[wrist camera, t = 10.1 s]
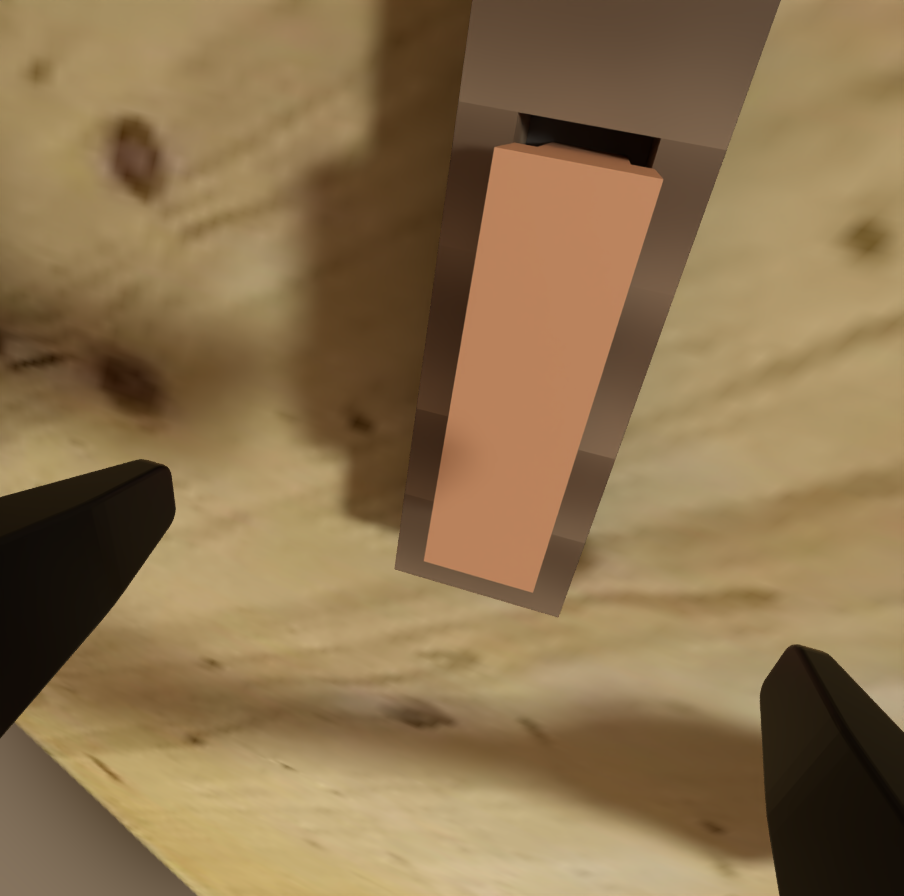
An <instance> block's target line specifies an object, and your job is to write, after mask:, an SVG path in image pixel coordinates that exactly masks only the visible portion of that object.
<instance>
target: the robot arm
mask: <svg viewBox="0 0 904 896" xmlns="http://www.w3.org/2000/svg"><path fill="white" fill-rule="evenodd" d="M175 510H176V507H175V499H174V491H173V483H172V475H171V472H170V470H169V468H168V467H167V466H165V465H163V464H159V463H156V462H152V461H149V460H144V459H139V460H135V461H131V462H127V463H124V464H120V465H116V466H113V467H109V468H105V469H102V470H98V471H94V472H91V473H87V474H83V475H80V476H76V477H72V478H69V479H65V480H61V481H58V482H54V483H50V484H47V485H43V486H39V487H36V488H32V489H28V490H25V491H21V492H17V493H14V494H10V495H6V496H3V497H0V738H1V737H2V736H3V735H4V734H5V732H6V731H7V730H8V729H9V728H10V727H11V725H12V724H13V723H14V722H15V721H16V720H17V719H18V717H19V716H20V715H21V714H22V713H23V712H24V710H25V709H26V708H27V707H28V706H29V705H30V703H31V702H32V701H33V700H34V699H35V698H36V696H37V695H38V694H39V693H40V692H41V691H42V689H43V688H44V687H45V686H46V685H47V684H48V682H49V681H50V680H51V679H52V678H53V677H54V675H55V674H56V673H57V672H58V671H59V670H60V668H61V667H62V666H63V665H64V664H65V663H66V661H67V660H68V659H69V658H70V657H71V656H72V654H73V653H74V652H75V651H76V650H77V649H78V647H79V646H80V645H81V644H82V643H83V642H84V641H85V639H86V638H87V637H88V636H89V635H90V634H91V632H92V631H93V630H94V629H95V628H96V627H97V625H98V624H99V623H100V622H101V621H102V620H103V618H104V617H105V616H106V615H107V613H108V612H109V611H110V610H111V609H112V607H113V606H114V605H115V603H116V602H117V601H118V599H119V598H120V597H121V595H122V594H123V593H124V591H125V590H126V588H127V587H128V586H129V584H130V583H131V581H132V580H133V578H134V577H135V575H136V574H137V573H138V571H139V570H140V568H141V567H142V565H143V564H144V563H145V561H146V560H147V558H148V557H149V555H150V554H151V553H152V551H153V550H154V548H155V547H156V545H157V544H158V543H159V541H160V540H161V538H162V537H163V535H164V534H165V533H166V531H167V530H168V528H169V527H170V525H171V524H172V521H173V519H174V516H175ZM760 713H761V731H762V749H763V767H764V785H765V801H766V812H767V821H768V828H769V835H770V842H771V848H772V854H773V860H774V866H775V872H776V878H777V884H778V890H779V896H904V732H903V731H902V730H901V729H900V728H899V727H898V726H897V725H896V724H895V723H894V722H893V721H892V720H891V718H890V717H889V716H888V715H887V714H886V713H885V712H884V711H883V710H882V709H881V708H880V707H879V706H878V705H877V704H876V703H875V702H874V701H873V700H872V699H871V698H870V697H869V695H868V694H867V693H866V692H865V691H864V690H863V689H862V688H861V687H860V686H859V685H858V684H857V683H856V682H855V681H854V680H853V679H852V678H851V677H850V676H849V675H848V673H847V672H846V671H845V670H844V669H843V668H842V667H841V666H840V665H839V664H838V663H837V662H836V661H835V660H834V659H833V658H832V657H831V656H830V655H829V654H827V653H825V652H823V651H820V650H816V649H813V648H809V647H806V646H802V645H798V644H796V645H791V646H789V647H788V648H787V649H786V650H785V651H784V653H783V654H782V656H781V657H780V659H779V660H778V662H777V663H776V664H775V666H774V667H773V669H772V670H771V672H770V673H769V675H768V676H767V678H766V679H765V681H764V683H763V685H762V688H761V692H760Z"/></svg>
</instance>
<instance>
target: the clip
mask: <svg viewBox="0 0 904 896" xmlns="http://www.w3.org/2000/svg"><path fill="white" fill-rule="evenodd" d="M662 183H663V178H662V177H661V176H660V175H659V173H658V172H657V171H656V170H655V169H652V168H646V167H641V166H636V165H631V164H630V161H629V158H628V156H625V155H619V154H614V153H609V152H603V151H598V150H593V149H587V148H582V147H577V146H571V145H566V144H560V143H555V142H551V143H548V144H545V145H542V146H539V147H535V146H530V145H525V144H519V143H511V144H506V145H501V146H497V147H494V152H493V158H492V164H491V170H490V176H489V182H488V188H487V193H486V199H485V205H484V211H483V217H482V223H481V229H480V234H479V240H478V246H477V252H476V258H475V264H474V270H473V275H472V281H471V287H470V293H469V299H468V305H467V311H466V316H465V322H464V328H463V334H462V340H461V346H460V352H459V357H458V363H457V369H456V375H455V381H454V387H453V393H452V398H451V404H450V410H449V416H448V422H447V428H446V434H445V439H444V445H443V451H442V457H441V463H440V469H439V475H438V480H437V486H436V492H435V498H434V504H433V510H432V516H431V521H430V527H429V533H428V539H427V545H426V551H425V557H424V561H425V562H428V563H432V564H435V565H439V566H442V567H446V568H449V569H453V570H456V571H459V572H463V573H466V574H470V575H473V576H477V577H480V578H484V579H487V580H490V581H494V582H497V583H501V584H504V585H508V586H511V587H515V588H518V589H521V590H525V591H528V592H532V593H533V591H534V588H535V585H536V581H537V578H538V575H539V572H540V569H541V566H542V562H543V559H544V556H545V553H546V550H547V547H548V543H549V540H550V537H551V534H552V531H553V528H554V524H555V521H556V518H557V515H558V512H559V509H560V505H561V502H562V499H563V496H564V493H565V490H566V486H567V483H568V480H569V477H570V474H571V471H572V467H573V464H574V461H575V458H576V455H577V452H578V448H579V445H580V442H581V439H582V436H583V433H584V429H585V426H586V423H587V420H588V417H589V414H590V410H591V407H592V404H593V401H594V398H595V395H596V392H597V388H598V385H599V382H600V379H601V376H602V373H603V369H604V366H605V363H606V360H607V357H608V354H609V350H610V347H611V344H612V341H613V338H614V335H615V331H616V328H617V325H618V322H619V319H620V316H621V312H622V309H623V306H624V303H625V300H626V297H627V293H628V290H629V287H630V284H631V281H632V278H633V274H634V271H635V268H636V265H637V262H638V259H639V255H640V252H641V249H642V246H643V243H644V240H645V236H646V233H647V230H648V227H649V224H650V221H651V217H652V214H653V211H654V208H655V205H656V202H657V198H658V195H659V192H660V189H661V186H662Z"/></svg>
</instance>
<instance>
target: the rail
mask: <svg viewBox="0 0 904 896" xmlns="http://www.w3.org/2000/svg"><path fill="white" fill-rule="evenodd" d="M780 1H781V0H472V7H471V14H470V21H469V29H468V36H467V43H466V51H465V58H464V65H463V73H462V80H461V87H460V95H459V102H458V109H457V116H456V124H455V131H454V138H453V146H452V153H451V160H450V168H449V175H448V182H447V189H446V197H445V204H444V211H443V219H442V226H441V233H440V241H439V248H438V255H437V262H436V270H435V277H434V284H433V292H432V299H431V306H430V314H429V321H428V328H427V335H426V343H425V350H424V357H423V365H422V372H421V379H420V387H419V394H418V401H417V408H416V416H415V423H414V430H413V438H412V445H411V452H410V460H409V467H408V474H407V481H406V489H405V496H404V503H403V511H402V518H401V525H400V533H399V540H398V547H397V555H396V562H395V570H399V571H402V572H406V573H409V574H412V575H416V576H419V577H423V578H426V579H429V580H433V581H436V582H440V583H443V584H446V585H450V586H453V587H457V588H460V589H463V590H467V591H470V592H474V593H477V594H480V595H484V596H487V597H491V598H494V599H497V600H501V601H504V602H507V603H511V604H514V605H518V606H521V607H524V608H528V609H531V610H535V611H538V612H541V613H545V614H548V615H552V616H555V617H559V614H560V612H561V609H562V606H563V603H564V600H565V598H566V595H567V592H568V589H569V587H570V584H571V581H572V578H573V575H574V573H575V570H576V567H577V564H578V562H579V559H580V556H581V553H582V550H583V548H584V545H585V542H586V539H587V537H588V534H589V531H590V528H591V525H592V523H593V520H594V517H595V514H596V512H597V509H598V506H599V503H600V500H601V498H602V495H603V492H604V489H605V487H606V484H607V481H608V478H609V476H610V473H611V470H612V467H613V464H614V462H615V459H616V456H617V453H618V451H619V448H620V445H621V442H622V439H623V437H624V434H625V431H626V428H627V426H628V423H629V420H630V417H631V414H632V412H633V409H634V406H635V403H636V401H637V398H638V395H639V392H640V389H641V387H642V384H643V381H644V378H645V376H646V373H647V370H648V367H649V364H650V362H651V359H652V356H653V353H654V351H655V348H656V345H657V342H658V339H659V337H660V334H661V331H662V328H663V326H664V323H665V320H666V317H667V314H668V312H669V309H670V306H671V303H672V301H673V298H674V295H675V292H676V289H677V287H678V284H679V281H680V278H681V276H682V273H683V270H684V267H685V264H686V262H687V259H688V256H689V253H690V251H691V248H692V245H693V242H694V239H695V237H696V234H697V231H698V228H699V226H700V223H701V220H702V217H703V214H704V212H705V209H706V206H707V203H708V201H709V198H710V195H711V192H712V190H713V187H714V184H715V181H716V178H717V176H718V173H719V170H720V167H721V165H722V162H723V159H724V156H725V153H726V151H727V148H728V145H729V142H730V140H731V137H732V134H733V131H734V128H735V126H736V123H737V120H738V117H739V115H740V112H741V109H742V106H743V103H744V101H745V98H746V95H747V92H748V90H749V87H750V84H751V81H752V78H753V76H754V73H755V70H756V67H757V65H758V62H759V59H760V56H761V53H762V51H763V48H764V45H765V42H766V40H767V37H768V34H769V31H770V28H771V26H772V23H773V20H774V17H775V15H776V12H777V9H778V6H779V3H780ZM551 142H555V143H560V144H566V145H571V146H577V147H582V148H587V149H593V150H598V151H603V152H609V153H614V154H619V155H625V156H628V158H629V161H630V164H631V165H636V166H641V167H646V168H652V169H655V170H656V171H657V172H658V173H659V175H660V176H661V177H662V178H663V183H662V186H661V189H660V192H659V195H658V198H657V202H656V205H655V208H654V211H653V214H652V217H651V221H650V224H649V227H648V230H647V233H646V236H645V240H644V243H643V246H642V249H641V252H640V255H639V259H638V262H637V265H636V268H635V271H634V274H633V278H632V281H631V284H630V287H629V290H628V293H627V297H626V300H625V303H624V306H623V309H622V312H621V316H620V319H619V322H618V325H617V328H616V331H615V335H614V338H613V341H612V344H611V347H610V350H609V354H608V357H607V360H606V363H605V366H604V369H603V373H602V376H601V379H600V382H599V385H598V388H597V392H596V395H595V398H594V401H593V404H592V407H591V410H590V414H589V417H588V420H587V423H586V426H585V429H584V433H583V436H582V439H581V442H580V445H579V448H578V452H577V455H576V458H575V461H574V464H573V467H572V471H571V474H570V477H569V480H568V483H567V486H566V490H565V493H564V496H563V499H562V502H561V505H560V509H559V512H558V515H557V518H556V521H555V524H554V528H553V531H552V534H551V537H550V540H549V543H548V547H547V550H546V553H545V556H544V559H543V562H542V566H541V569H540V572H539V575H538V578H537V581H536V585H535V588H534V591H533V593H532V592H528V591H525V590H521V589H518V588H515V587H511V586H508V585H504V584H501V583H497V582H494V581H490V580H487V579H484V578H480V577H477V576H473V575H470V574H466V573H463V572H459V571H456V570H453V569H449V568H446V567H442V566H439V565H435V564H432V563H428V562H425V561H424V557H425V551H426V545H427V539H428V533H429V527H430V521H431V516H432V510H433V504H434V498H435V492H436V486H437V480H438V475H439V469H440V463H441V457H442V451H443V445H444V439H445V434H446V428H447V422H448V416H449V410H450V404H451V398H452V393H453V387H454V381H455V375H456V369H457V363H458V357H459V352H460V346H461V340H462V334H463V328H464V322H465V316H466V311H467V305H468V299H469V293H470V287H471V281H472V275H473V270H474V264H475V258H476V252H477V246H478V240H479V234H480V229H481V223H482V217H483V211H484V205H485V199H486V193H487V188H488V182H489V176H490V170H491V164H492V158H493V152H494V147H497V146H501V145H506V144H511V143H519V144H525V145H530V146H535V147H539V146H542V145H545V144H548V143H551Z"/></svg>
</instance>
